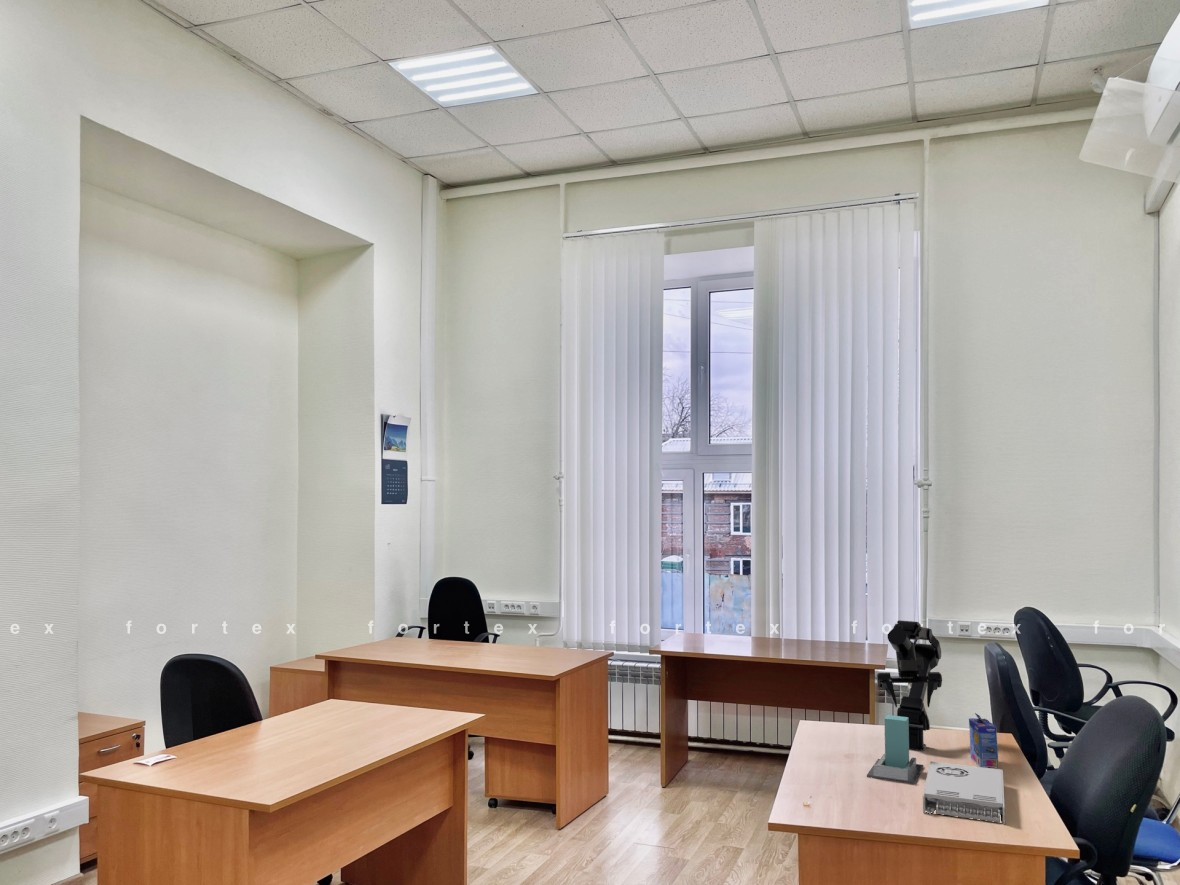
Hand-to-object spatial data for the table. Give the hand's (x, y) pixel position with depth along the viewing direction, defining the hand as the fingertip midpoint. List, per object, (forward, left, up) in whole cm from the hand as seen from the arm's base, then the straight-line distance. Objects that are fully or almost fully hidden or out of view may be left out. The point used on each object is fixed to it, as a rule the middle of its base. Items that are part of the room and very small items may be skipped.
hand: (912, 706), depth 270 cm
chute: (+12, -3, -17) cm, 21 cm away
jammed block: (+9, -3, -17) cm, 19 cm away
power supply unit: (+28, +17, -17) cm, 37 cm away
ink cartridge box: (-10, +19, -17) cm, 27 cm away
